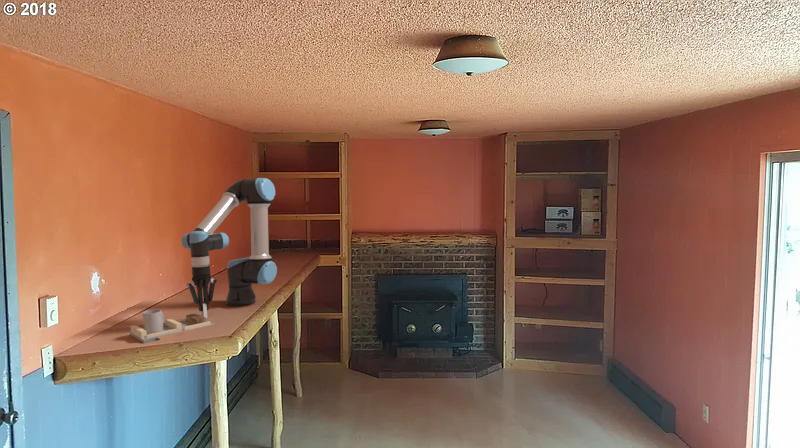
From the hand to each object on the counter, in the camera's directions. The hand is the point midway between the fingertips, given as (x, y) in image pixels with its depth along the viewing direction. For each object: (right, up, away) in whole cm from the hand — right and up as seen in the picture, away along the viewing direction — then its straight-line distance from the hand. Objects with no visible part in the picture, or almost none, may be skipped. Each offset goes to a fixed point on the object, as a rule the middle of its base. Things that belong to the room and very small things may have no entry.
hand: (204, 317), depth 236 cm
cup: (-15, -4, -14) cm, 21 cm away
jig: (-10, -4, -9) cm, 14 cm away
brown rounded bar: (-3, -2, -2) cm, 4 cm away
